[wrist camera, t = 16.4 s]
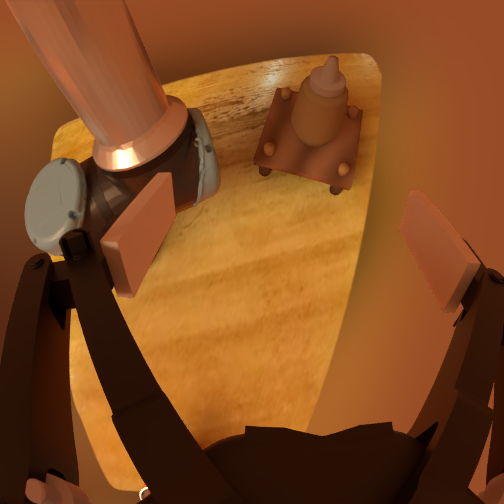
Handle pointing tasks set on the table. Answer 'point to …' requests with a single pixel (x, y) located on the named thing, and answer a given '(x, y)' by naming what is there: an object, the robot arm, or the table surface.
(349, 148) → the walnut stand
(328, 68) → the squeeze bottle
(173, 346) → the table surface
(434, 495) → the robot arm
